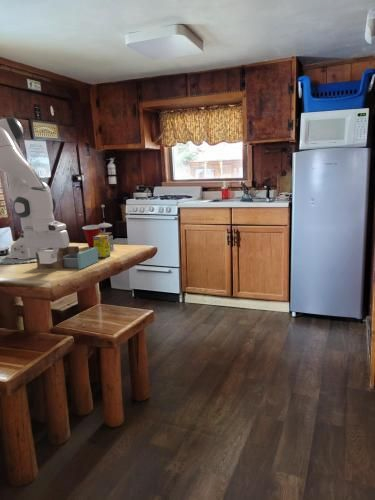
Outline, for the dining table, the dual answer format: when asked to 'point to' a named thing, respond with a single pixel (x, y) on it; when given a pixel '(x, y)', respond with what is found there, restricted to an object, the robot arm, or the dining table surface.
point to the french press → (107, 233)
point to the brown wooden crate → (58, 257)
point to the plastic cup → (91, 233)
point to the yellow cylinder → (102, 245)
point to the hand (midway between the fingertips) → (48, 257)
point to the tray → (81, 259)
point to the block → (46, 257)
